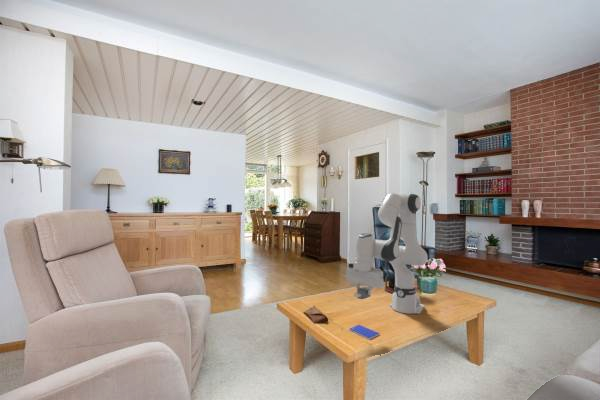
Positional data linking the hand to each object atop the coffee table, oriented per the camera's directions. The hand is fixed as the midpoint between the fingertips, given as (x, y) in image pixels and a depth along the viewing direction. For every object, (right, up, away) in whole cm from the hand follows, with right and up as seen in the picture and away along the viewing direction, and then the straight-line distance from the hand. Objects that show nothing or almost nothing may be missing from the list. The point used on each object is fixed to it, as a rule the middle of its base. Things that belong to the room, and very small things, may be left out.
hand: (363, 293), depth 144 cm
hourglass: (+40, -21, +70) cm, 83 cm away
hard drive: (0, -20, -1) cm, 20 cm away
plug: (-1, -2, -1) cm, 2 cm away
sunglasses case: (-24, -20, +18) cm, 36 cm away
